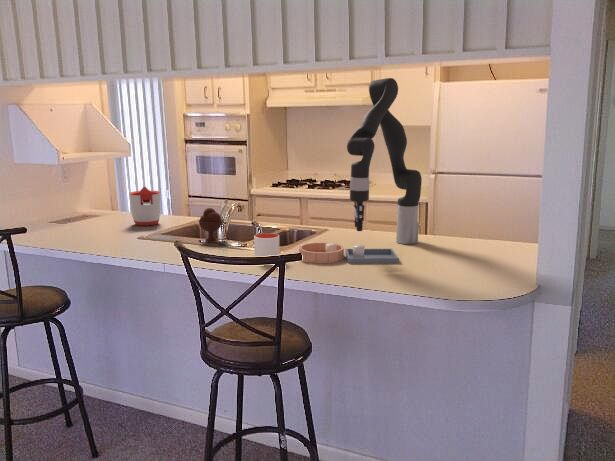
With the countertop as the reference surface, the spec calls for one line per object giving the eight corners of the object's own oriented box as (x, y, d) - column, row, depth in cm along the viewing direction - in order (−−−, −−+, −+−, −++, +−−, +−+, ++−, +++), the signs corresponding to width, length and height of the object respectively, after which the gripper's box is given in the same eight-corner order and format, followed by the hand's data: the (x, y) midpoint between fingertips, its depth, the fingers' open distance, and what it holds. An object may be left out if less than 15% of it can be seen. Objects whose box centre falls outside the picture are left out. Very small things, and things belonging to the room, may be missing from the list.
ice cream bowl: (194, 241, 258) (193, 209, 255) (209, 236, 268) (208, 205, 265) (213, 244, 253) (211, 211, 250) (227, 239, 263) (226, 207, 260)
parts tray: (391, 254, 235) (392, 248, 234) (398, 264, 220) (398, 258, 219) (345, 254, 235) (345, 248, 234) (348, 264, 219) (348, 258, 219)
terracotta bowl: (341, 252, 238) (341, 242, 237) (344, 264, 220) (345, 252, 219) (299, 252, 238) (299, 242, 237) (299, 264, 220) (299, 253, 219)
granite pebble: (363, 256, 229) (363, 244, 228) (364, 259, 225) (365, 247, 224) (352, 256, 229) (352, 244, 228) (353, 259, 225) (353, 247, 224)
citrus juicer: (132, 228, 287) (130, 189, 282) (130, 222, 303) (127, 185, 298) (164, 226, 292) (162, 188, 288) (160, 220, 308) (158, 184, 304)
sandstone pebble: (336, 254, 231) (336, 243, 230) (337, 257, 226) (337, 245, 225) (325, 254, 231) (325, 243, 230) (325, 257, 226) (325, 245, 225)
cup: (282, 257, 230) (282, 233, 228) (275, 263, 221) (275, 239, 219) (259, 256, 233) (258, 232, 230) (251, 262, 223) (250, 237, 221)
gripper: (371, 191, 214) (369, 232, 218) (367, 186, 228) (365, 225, 231) (351, 191, 214) (350, 232, 217) (348, 186, 228) (347, 225, 231)
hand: (358, 228), depth 224 cm, fingers open, 8 cm apart
